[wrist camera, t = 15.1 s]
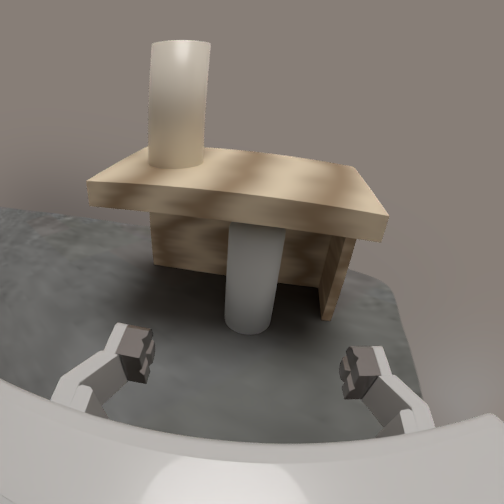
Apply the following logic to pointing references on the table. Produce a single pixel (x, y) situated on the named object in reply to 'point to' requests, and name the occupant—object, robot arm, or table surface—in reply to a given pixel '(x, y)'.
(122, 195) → the counter
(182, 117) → the white rounded cylinder
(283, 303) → the table surface
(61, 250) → the table surface
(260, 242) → the white cylinder pillar
